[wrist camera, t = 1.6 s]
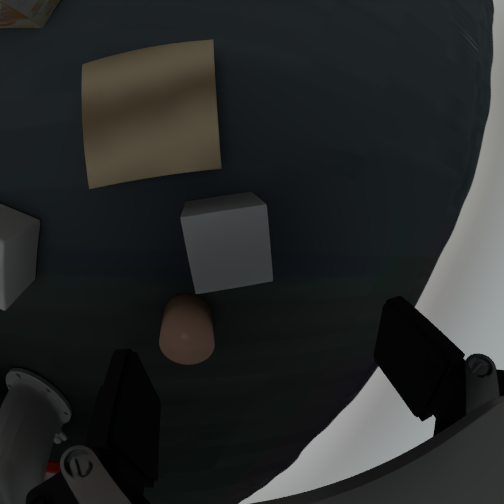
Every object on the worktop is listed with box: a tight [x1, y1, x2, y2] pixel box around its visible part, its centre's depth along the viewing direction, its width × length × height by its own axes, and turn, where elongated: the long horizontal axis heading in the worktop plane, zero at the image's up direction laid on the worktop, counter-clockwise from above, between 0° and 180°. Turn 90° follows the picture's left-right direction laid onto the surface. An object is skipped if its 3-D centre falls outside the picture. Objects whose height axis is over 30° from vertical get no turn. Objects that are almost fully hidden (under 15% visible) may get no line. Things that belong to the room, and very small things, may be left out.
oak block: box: [82, 40, 221, 189], centre depth 19 cm, size 10×10×5 cm
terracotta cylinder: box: [159, 294, 215, 364], centre depth 26 cm, size 5×5×5 cm
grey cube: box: [180, 192, 273, 294], centre depth 23 cm, size 6×6×6 cm
